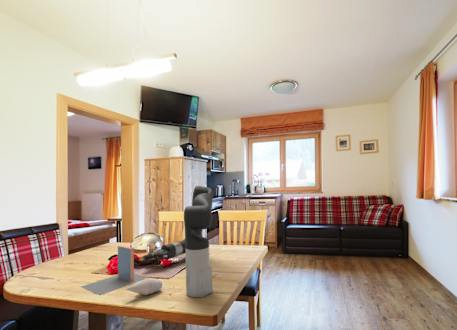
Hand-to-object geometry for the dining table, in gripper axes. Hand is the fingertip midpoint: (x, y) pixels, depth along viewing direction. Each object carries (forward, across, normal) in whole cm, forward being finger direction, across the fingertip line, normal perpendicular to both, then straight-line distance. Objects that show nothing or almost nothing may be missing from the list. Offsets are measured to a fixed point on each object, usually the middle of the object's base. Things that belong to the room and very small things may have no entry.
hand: (144, 258), depth 128 cm
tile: (+10, 0, +6) cm, 12 cm away
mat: (+15, 0, +7) cm, 16 cm away
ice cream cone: (+16, +22, +7) cm, 28 cm away
